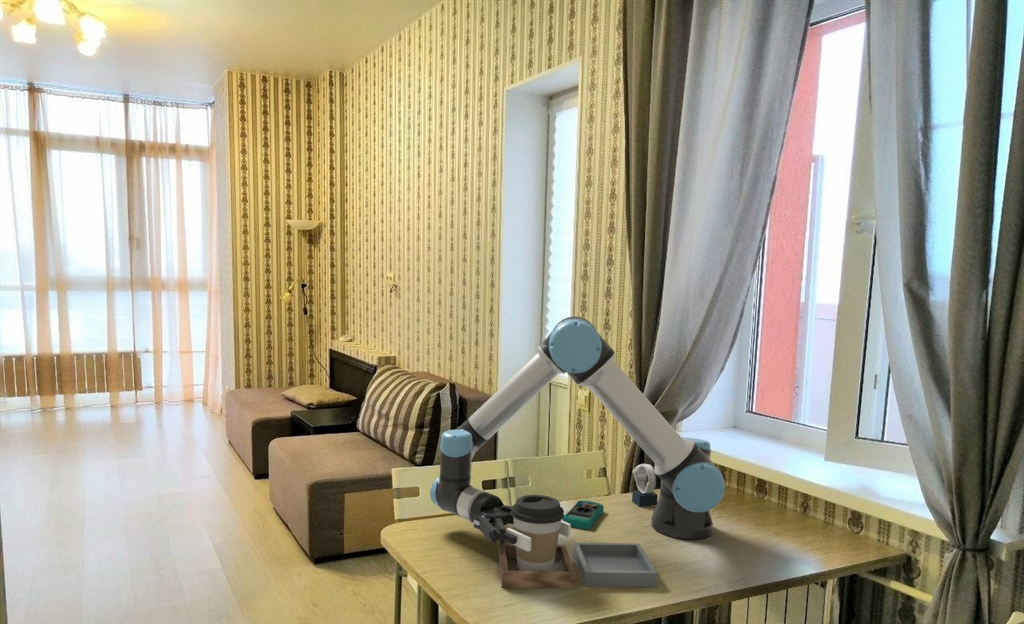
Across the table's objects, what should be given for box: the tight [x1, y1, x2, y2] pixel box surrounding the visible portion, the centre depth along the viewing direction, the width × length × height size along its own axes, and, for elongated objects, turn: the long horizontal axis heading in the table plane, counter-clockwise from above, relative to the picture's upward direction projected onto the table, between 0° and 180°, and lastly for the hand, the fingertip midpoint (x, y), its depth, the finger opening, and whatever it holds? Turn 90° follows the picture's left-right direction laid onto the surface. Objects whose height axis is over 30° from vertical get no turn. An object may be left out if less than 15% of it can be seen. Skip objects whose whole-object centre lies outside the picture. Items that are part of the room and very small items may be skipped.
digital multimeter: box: [562, 500, 604, 530], centre depth 178 cm, size 7×15×3 cm, turn 158°
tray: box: [572, 542, 658, 588], centre depth 147 cm, size 15×15×3 cm
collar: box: [498, 542, 577, 589], centre depth 145 cm, size 15×15×3 cm
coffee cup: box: [511, 494, 565, 571], centre depth 145 cm, size 11×11×15 cm
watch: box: [631, 463, 659, 508], centre depth 191 cm, size 6×8×11 cm
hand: (550, 537), depth 142 cm, fingers closed on coffee cup, 11 cm apart
